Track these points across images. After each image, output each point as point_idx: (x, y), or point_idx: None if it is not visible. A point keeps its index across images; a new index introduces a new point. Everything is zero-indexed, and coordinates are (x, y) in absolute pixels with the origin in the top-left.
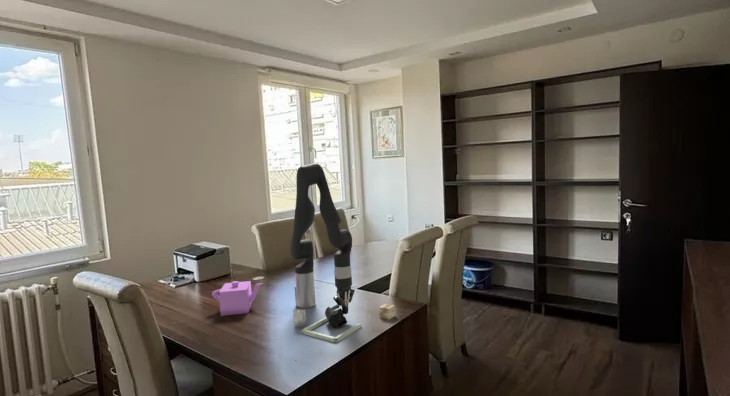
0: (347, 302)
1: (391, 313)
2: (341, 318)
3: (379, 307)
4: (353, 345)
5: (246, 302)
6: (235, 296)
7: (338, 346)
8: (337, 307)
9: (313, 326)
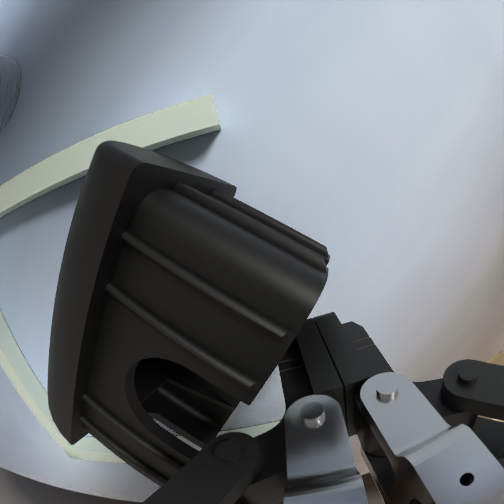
0: (377, 471)
1: None
2: (172, 429)
3: (491, 418)
4: (135, 491)
5: None
6: None
7: (78, 462)
8: (214, 375)
9: (6, 210)
